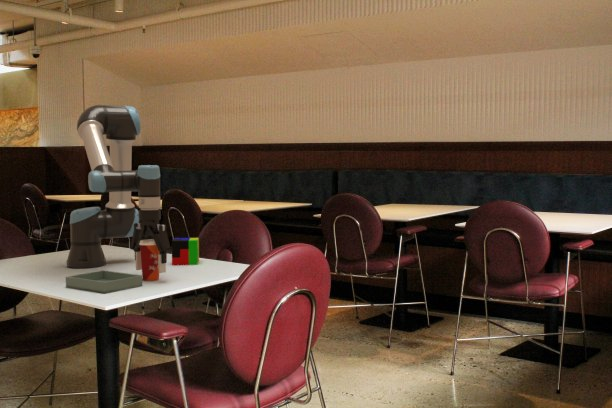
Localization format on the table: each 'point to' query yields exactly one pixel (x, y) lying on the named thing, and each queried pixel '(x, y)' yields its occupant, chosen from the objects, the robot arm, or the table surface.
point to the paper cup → (149, 260)
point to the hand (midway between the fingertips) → (150, 271)
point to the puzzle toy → (185, 251)
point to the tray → (104, 281)
